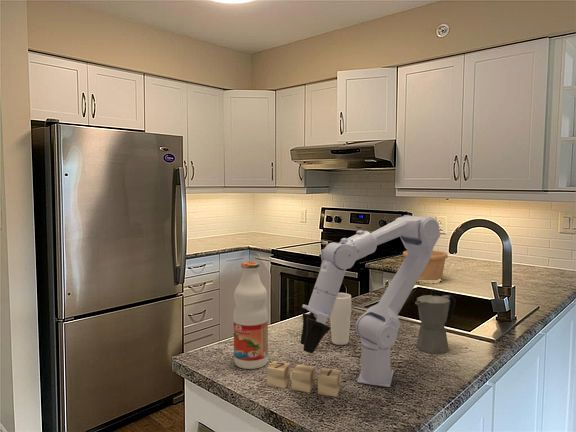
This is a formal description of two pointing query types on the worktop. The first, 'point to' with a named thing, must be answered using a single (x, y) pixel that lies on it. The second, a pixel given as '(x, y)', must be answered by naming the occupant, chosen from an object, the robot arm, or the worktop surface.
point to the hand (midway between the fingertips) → (306, 348)
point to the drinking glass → (341, 319)
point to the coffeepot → (434, 322)
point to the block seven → (278, 374)
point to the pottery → (433, 266)
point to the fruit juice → (250, 319)
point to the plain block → (303, 378)
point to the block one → (329, 382)
